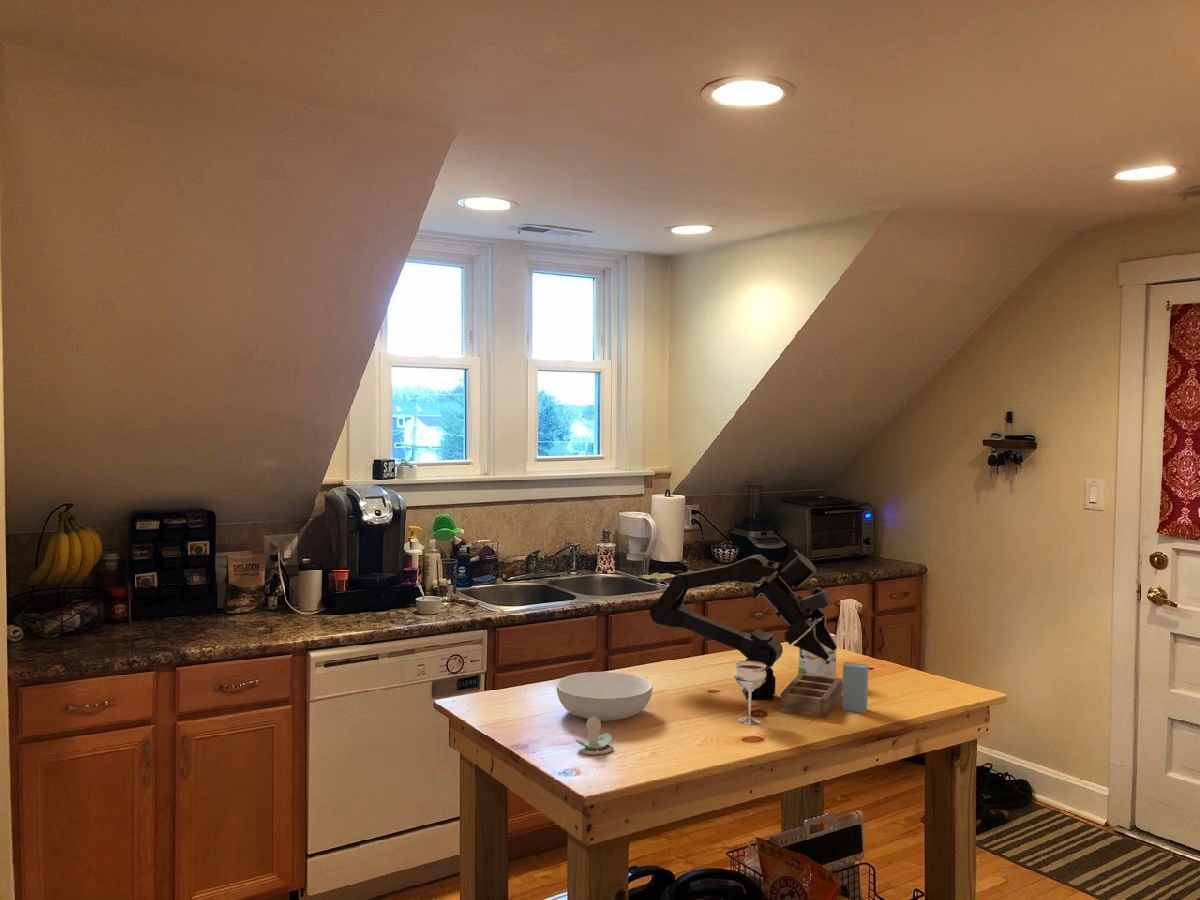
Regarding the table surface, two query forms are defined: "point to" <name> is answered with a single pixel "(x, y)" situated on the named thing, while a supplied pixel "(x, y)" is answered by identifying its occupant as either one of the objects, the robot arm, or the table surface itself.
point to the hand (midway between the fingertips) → (831, 653)
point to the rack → (811, 695)
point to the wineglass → (750, 683)
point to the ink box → (818, 662)
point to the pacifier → (595, 739)
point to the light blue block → (855, 687)
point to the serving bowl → (604, 694)
